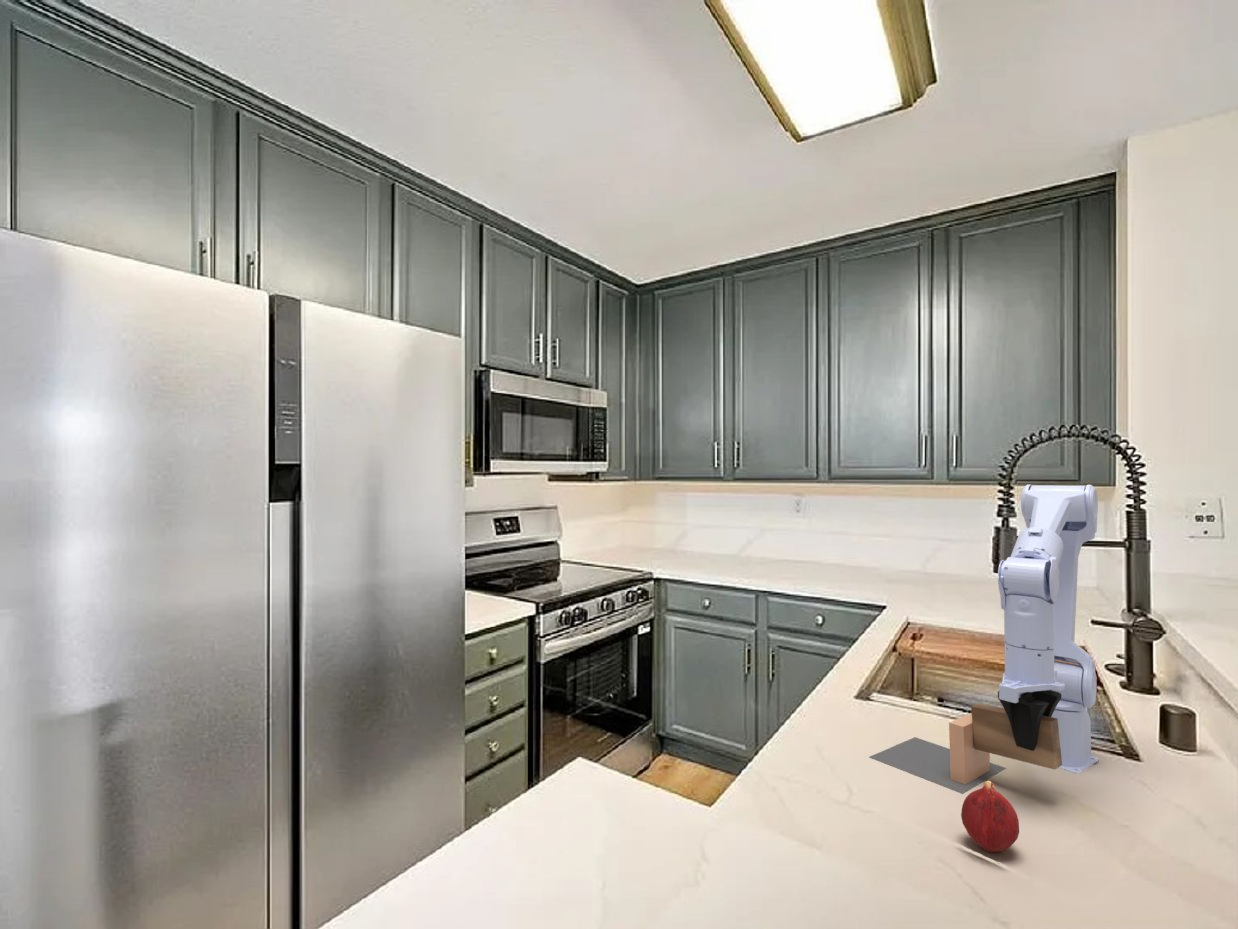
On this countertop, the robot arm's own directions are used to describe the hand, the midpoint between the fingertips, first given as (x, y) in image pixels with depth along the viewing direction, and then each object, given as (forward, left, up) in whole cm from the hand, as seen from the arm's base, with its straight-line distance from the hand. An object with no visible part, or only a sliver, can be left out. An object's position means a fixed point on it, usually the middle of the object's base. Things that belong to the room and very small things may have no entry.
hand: (1030, 745), depth 84 cm
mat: (0, -13, -7) cm, 15 cm away
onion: (+18, +2, -8) cm, 20 cm away
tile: (0, -8, -7) cm, 10 cm away
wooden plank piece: (0, -2, -2) cm, 3 cm away
